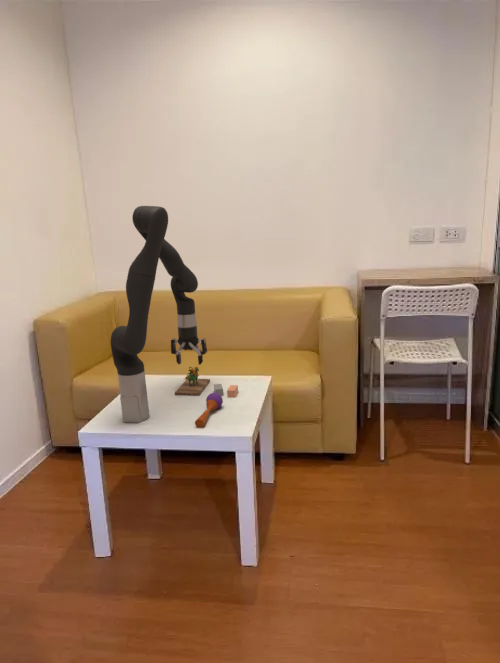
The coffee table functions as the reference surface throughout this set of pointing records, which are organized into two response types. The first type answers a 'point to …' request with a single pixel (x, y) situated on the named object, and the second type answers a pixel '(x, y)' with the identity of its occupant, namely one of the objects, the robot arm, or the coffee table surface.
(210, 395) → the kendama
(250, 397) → the coffee table surface
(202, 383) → the walnut board
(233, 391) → the terracotta brick
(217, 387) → the slate-grey brick
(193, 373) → the figurine
